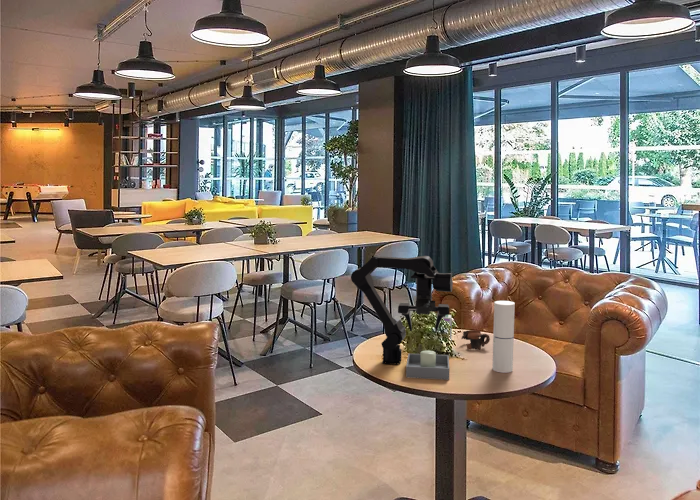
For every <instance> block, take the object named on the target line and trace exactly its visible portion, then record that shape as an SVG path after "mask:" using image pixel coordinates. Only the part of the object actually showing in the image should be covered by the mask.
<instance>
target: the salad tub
mask: <svg viewBox="0 0 700 500" xmlns="http://www.w3.org/2000/svg"><path fill="white" fill-rule="evenodd" d="M436 352H437V351H433V350H422V351H420V353H419V354H420V367H434V368H436V355H437V353H436Z"/></svg>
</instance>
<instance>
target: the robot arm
mask: <svg viewBox="0 0 700 500" xmlns="http://www.w3.org/2000/svg"><path fill="white" fill-rule="evenodd" d="M377 268H385V269H387V268H391V269H403V270H409V271H411V272H414V273H413V274H412V275H410V279H416V280H415V282H416V283H415V285H416V287H415V288H416V289H415V291H416V292H415V305H410V302H400V303H399V304H398V306H397V313H398V314H401V316H404V318H405V320H406V321H407V325H408V329H409V331H410V332H412V331H413V329H412V328H413V327H412V325H413V324H412V315H411V312H416V314H417V315H430V314H431V312H435V313H436V312H437V314H436V321H435V327H434V328H435V329H434V330H435V331H434V332H435V333H437V329H438V326H439V323H440V321H441V319H442V317H445V316H446V315H450V305H449V304H448V303H446V304H445V303H444V304H443V303H438V306H436V300H432V299H433V298H432V297H433V295H432V293H433V291H432V289H434V290H435V291H436V292H445V293H452V292H453V287H454V286H453V285H454V281H453V277H452V276H453V273H451V272H446V273H442V272H439V271H438V269H437V268H436V267H435V265H434V261H433V259H432V258H431V257H430V256H429V255H421V256H414V257H396V256H382V255H381V256H379V255H375V256H372V257H371V258H369V260H368V261H367V262H366V263H365V264H364V265H362V266H361V267H359V268H357V269H355V270H353V271H352V273H351V275H350V281H351V282H352V283H353V285H355V286H356V288H357V289H358V290H359V291H361V292H363V294H364V295H365V297H366V299H367V300H368V302H369V304H370V305H371V307H372V308H373V310H374V312H375V313H376V315H377V316H378V318H379V320H380V322H381V323H382V325H383V330H384V334H385V336H386V337H385V339H384V340H383V341H382V342H381V347H382V364H383V365H384V364H385V365H387V364H388V365H400V362H401V361H402V349H401V344H402V343H401V342H402V341H404V339H406V335H407V333H406V332H407V331H406V328H407V327H405V325H403V322H402V320H401V319H399V320H396V319H395V318H394V317H393V316H392V314H391V313H390V311H389V309H388V307H387V306H386V304H385V302H384V301H383V299H382V298H381V295H380V294H379V293H378V291H377V289H376V287H375V286H374V282H373V281H374V280H373V277H372V275H371V274H372V273H374V271H375V270H376V269H377Z"/></svg>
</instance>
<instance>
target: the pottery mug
mask: <svg viewBox="0 0 700 500" xmlns="http://www.w3.org/2000/svg"><path fill="white" fill-rule="evenodd" d="M463 339H464V340H467V341H470V343H467V344H466V346H465V347H466V350H481V349H482V348H483V347H485V346H486V345H488V344H489V342H490V340H491V338H490V335H489V334H488V333H482V331H481V330H478V329H476V330H475V329H470V330H465V331H463V332H462V336H461V340H463Z"/></svg>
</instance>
